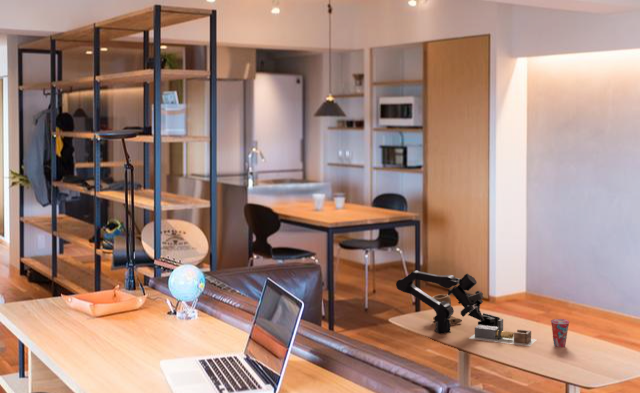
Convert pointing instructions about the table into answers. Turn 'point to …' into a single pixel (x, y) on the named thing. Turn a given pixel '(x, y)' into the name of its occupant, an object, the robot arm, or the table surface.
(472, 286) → the robot arm
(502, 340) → the board
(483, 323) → the end cap
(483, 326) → the sleeve
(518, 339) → the socket
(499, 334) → the sliding bolt
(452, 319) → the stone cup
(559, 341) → the cup
